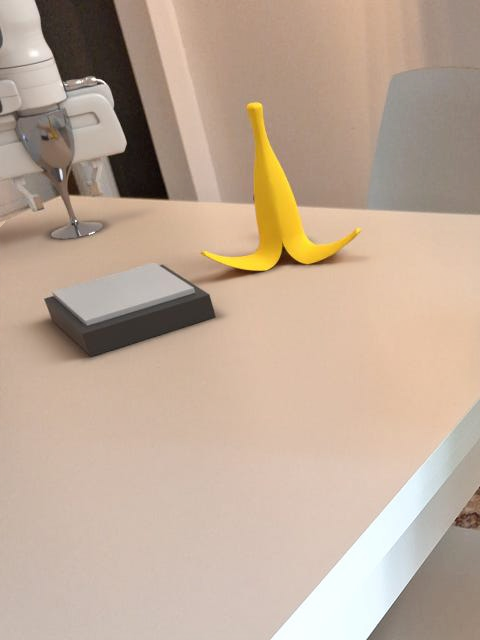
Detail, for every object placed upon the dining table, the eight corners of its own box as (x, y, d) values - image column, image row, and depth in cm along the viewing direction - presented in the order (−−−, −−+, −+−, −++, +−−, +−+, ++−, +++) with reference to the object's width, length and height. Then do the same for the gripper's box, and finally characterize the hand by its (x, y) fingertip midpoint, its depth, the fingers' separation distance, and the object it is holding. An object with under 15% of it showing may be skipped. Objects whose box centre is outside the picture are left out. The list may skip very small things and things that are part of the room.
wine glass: (116, 221, 132) (78, 103, 122) (84, 240, 126) (41, 117, 117) (69, 221, 134) (28, 104, 124) (36, 239, 128) (-10, 119, 119)
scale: (90, 357, 95) (79, 327, 93) (52, 320, 104) (41, 293, 102) (216, 317, 100) (208, 288, 98) (169, 285, 109) (161, 258, 107)
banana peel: (204, 282, 109) (160, 124, 98) (281, 230, 122) (250, 85, 111) (328, 288, 104) (297, 122, 93) (395, 233, 117) (374, 82, 106)
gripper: (98, 70, 125) (131, 180, 134) (-59, 101, 117) (-12, 216, 126) (113, 75, 121) (147, 188, 130) (-49, 107, 113) (-1, 225, 122)
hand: (67, 202), depth 128 cm, fingers open, 7 cm apart
